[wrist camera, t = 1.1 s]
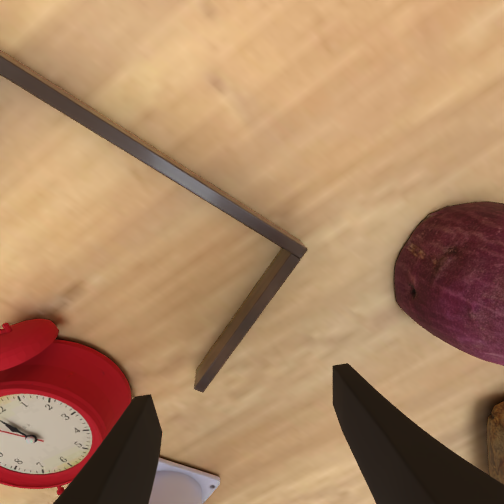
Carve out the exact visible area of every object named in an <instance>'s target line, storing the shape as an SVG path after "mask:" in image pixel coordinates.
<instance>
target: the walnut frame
mask: <svg viewBox="0 0 504 504" xmlns="http://www.w3.org/2000/svg"><path fill="white" fill-rule="evenodd" d="M0 75H2V76H3V77H5V78H6V79H8V80H10V81H11V82H13V83H15V84H16V85H18V86H19V87H21V88H23V89H24V90H26V91H28V92H29V93H31V94H32V95H34V96H36V97H37V98H39V99H41V100H42V101H44V102H46V103H47V104H49V105H50V106H52V107H54V108H55V109H57V110H59V111H60V112H62V113H63V114H65V115H67V116H68V117H70V118H72V119H73V120H75V121H76V122H78V123H80V124H81V125H83V126H85V127H86V128H88V129H90V130H91V131H93V132H94V133H96V134H98V135H99V136H101V137H103V138H104V139H106V140H107V141H109V142H111V143H112V144H114V145H116V146H117V147H119V148H121V149H122V150H124V151H125V152H127V153H129V154H130V155H132V156H134V157H135V158H137V159H138V160H140V161H142V162H143V163H145V164H147V165H148V166H150V167H151V168H153V169H155V170H156V171H158V172H160V173H161V174H163V175H165V176H166V177H168V178H169V179H171V180H173V181H174V182H176V183H178V184H179V185H181V186H182V187H184V188H186V189H187V190H189V191H191V192H192V193H194V194H195V195H197V196H199V197H200V198H202V199H204V200H205V201H207V202H209V203H210V204H212V205H213V206H215V207H217V208H218V209H220V210H222V211H223V212H225V213H226V214H228V215H230V216H231V217H233V218H235V219H236V220H238V221H240V222H241V223H243V224H244V225H246V226H248V227H249V228H251V229H253V230H254V231H256V232H257V233H259V234H261V235H262V236H264V237H266V238H267V239H269V240H270V241H272V242H274V243H275V244H277V245H279V246H280V247H282V249H281V250H280V252H279V253H278V254H277V256H276V257H275V259H274V260H273V262H272V263H271V264H270V266H269V267H268V269H267V270H266V271H265V273H264V274H263V276H262V277H261V279H260V280H259V281H258V283H257V284H256V286H255V287H254V288H253V290H252V291H251V293H250V294H249V296H248V297H247V298H246V300H245V301H244V303H243V304H242V305H241V307H240V308H239V310H238V311H237V313H236V314H235V315H234V317H233V318H232V320H231V321H230V322H229V324H228V325H227V327H226V328H225V330H224V331H223V332H222V334H221V335H220V337H219V338H218V340H217V341H216V342H215V344H214V345H213V347H212V348H211V349H210V351H209V352H208V354H207V355H206V357H205V358H204V359H203V361H202V362H201V364H200V365H199V366H198V368H197V369H196V376H195V384H194V389H195V390H198V391H200V392H204V391H205V389H206V388H207V386H208V385H209V384H210V382H211V381H212V380H213V378H214V377H215V376H216V374H217V373H218V371H219V370H220V369H221V367H222V366H223V365H224V363H225V362H226V361H227V359H228V358H229V356H230V355H231V354H232V352H233V351H234V350H235V348H236V347H237V346H238V344H239V343H240V341H241V340H242V339H243V337H244V336H245V335H246V333H247V332H248V331H249V329H250V328H251V326H252V325H253V324H254V322H255V321H256V320H257V318H258V317H259V316H260V314H261V313H262V311H263V310H264V309H265V307H266V306H267V305H268V303H269V302H270V301H271V299H272V298H273V296H274V295H275V294H276V292H277V291H278V290H279V288H280V287H281V286H282V284H283V283H284V282H285V280H286V279H287V277H288V276H289V275H290V273H291V272H292V271H293V269H294V268H295V267H296V265H297V264H298V262H299V261H300V259H301V258H302V257H303V255H304V254H305V253H306V251H307V248H306V247H305V246H304V244H303V243H302V242H301V241H300V240H299V239H297V238H296V237H294V236H293V235H291V234H289V233H288V232H286V231H285V230H283V229H281V228H280V227H278V226H277V225H275V224H274V223H272V222H270V221H269V220H267V219H266V218H264V217H263V216H261V215H259V214H258V213H256V212H255V211H253V210H252V209H250V208H248V207H247V206H245V205H244V204H242V203H241V202H239V201H237V200H236V199H234V198H233V197H231V196H230V195H228V194H226V193H225V192H223V191H222V190H220V189H219V188H217V187H215V186H214V185H212V184H211V183H209V182H208V181H206V180H204V179H203V178H201V177H200V176H198V175H197V174H195V173H193V172H192V171H190V170H189V169H187V168H186V167H184V166H182V165H181V164H179V163H178V162H176V161H175V160H173V159H171V158H170V157H168V156H167V155H165V154H163V153H162V152H160V151H159V150H157V149H156V148H154V147H152V146H151V145H149V144H148V143H146V142H145V141H143V140H141V139H140V138H138V137H137V136H135V135H134V134H132V133H130V132H129V131H127V130H126V129H124V128H123V127H121V126H119V125H118V124H116V123H115V122H113V121H112V120H110V119H108V118H107V117H105V116H104V115H102V114H101V113H99V112H97V111H96V110H94V109H93V108H91V107H90V106H88V105H86V104H85V103H83V102H82V101H80V100H79V99H77V98H75V97H74V96H72V95H71V94H69V93H68V92H66V91H64V90H63V89H61V88H60V87H58V86H56V85H55V84H53V83H52V82H50V81H49V80H47V79H45V78H44V77H42V76H41V75H39V74H38V73H36V72H34V71H33V70H31V69H30V68H28V67H27V66H25V65H23V64H22V63H20V62H19V61H17V60H16V59H14V58H12V57H11V56H9V55H8V54H6V53H5V52H3V51H1V50H0Z"/></svg>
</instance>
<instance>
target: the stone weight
mask: <svg viewBox="0 0 504 504" xmlns="http://www.w3.org/2000/svg"><path fill="white" fill-rule="evenodd" d="M487 451H488V465H489V473H490V476H491V477H493V478H494V479H496V480H497V481H499V482H501V483H502V484H504V402H501V403H499V404H496V405H495V406H494V407H493V410H492V412H491V415H490V416H488V422H487Z"/></svg>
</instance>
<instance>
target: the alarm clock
mask: <svg viewBox="0 0 504 504" xmlns="http://www.w3.org/2000/svg"><path fill="white" fill-rule="evenodd" d="M2 326H3V328H4V329H0V483H1V484H4V485H8V486H12V487H18V488H28V489H43V488H52V487H57V488H58V490H57V494H58V495H61V494H62V493H63V491H64V488H63V487H61V486H62V485H65V484H68V483H71V482H72V480H73V479H74V478H75V477H76V475H77V474H78V473H79V472H80V470H81V469H82V468H83V467H84V465H85V464H86V463H87V461H88V460H89V459H90V458H91V456H92V455H93V454H94V452H95V451H96V450H97V448H98V447H99V446H100V444H101V443H102V441H103V440H104V439H105V437H106V436H107V435H108V433H109V432H110V431H111V429H112V428H113V426H114V425H115V424H116V422H117V421H118V419H119V418H120V417H121V415H122V414H123V412H124V411H125V409H126V408H127V407H128V405H129V404H130V402H131V391H130V386H129V383H128V381H127V379H126V377H125V375H124V374H123V372H122V371H121V370H120V369H119V367H118V366H117V365H116V364H115V363H114V362H113V361H111V360H110V359H109V358H108V357H106V356H105V355H103V354H101V353H100V352H98V351H96V350H94V349H92V348H90V347H87V346H85V345H82V344H79V343H75V342H71V341H65V340H56V337H57V336H58V332H59V330H58V328H57V327H56V325H55V324H54V323H53V322H52V321H50V320H47V319H32V320H25V321H23V322H20V323H17V324H14V325H11V326H10V325H9V324H8V323H4V324H3V325H2Z"/></svg>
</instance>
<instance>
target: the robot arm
mask: <svg viewBox="0 0 504 504" xmlns="http://www.w3.org/2000/svg"><path fill="white" fill-rule="evenodd" d="M333 406H334V409H335V412H336V415H337V418H338V420H339V423H340V426H341V429H342V431H343V434H344V436H345V438H346V440H347V442H348V444H349V446H350V449H351V451H352V453H353V455H354V457H355V459H356V461H357V463H358V466H359V468H360V470H361V472H362V474H363V476H364V478H365V480H366V482H367V484H368V487H369V489H370V491H371V493H372V495H373V497H374V499H375V502H376V504H504V484H502V483H501V482H499V481H497V480H496V479H494V478H493V477H491V476H489V475H488V474H486V473H485V472H483V471H481V470H480V469H478V468H477V467H475V466H473V465H472V464H470V463H469V462H467V461H466V460H464V459H463V458H461V457H460V456H458V455H457V454H456V453H454V452H453V451H451V450H450V449H448V448H447V447H446V446H444V445H443V444H441V443H440V442H439V441H437V440H436V439H435V438H433V437H432V436H431V435H429V434H428V433H427V432H425V431H424V430H423V429H421V428H420V427H419V426H418V425H416V424H415V423H414V422H413V421H411V420H410V419H409V418H408V417H406V416H405V415H404V414H403V413H402V412H401V411H399V410H398V409H397V408H396V407H395V406H394V405H392V404H391V403H390V402H389V401H388V400H387V399H386V398H384V397H383V396H382V395H381V394H380V393H379V392H378V391H377V390H375V389H374V388H373V387H372V386H371V385H370V384H369V383H368V382H367V381H366V380H365V379H364V378H363V377H362V376H361V375H360V374H359V373H357V372H356V371H355V370H354V369H353V368H352V367H351V366H350V365H349V364H348V363H347V364H341V365H334V366H333ZM161 438H162V430H161V426H160V423H159V420H158V417H157V413H156V410H155V407H154V403H153V400H152V397H151V394H150V395H144V396H137V397H134V398H133V400H132V401H131V402H130V404H129V405H128V407H127V408H126V409H125V411H124V412H123V414H122V415H121V417H120V418H119V419H118V421H117V422H116V424H115V425H114V426H113V428H112V429H111V431H110V432H109V433H108V435H107V436H106V437H105V439H104V440H103V441H102V443H101V444H100V446H99V447H98V448H97V450H96V451H95V452H94V454H93V455H92V456H91V458H90V459H89V460H88V461H87V463H86V464H85V465H84V467H83V468H82V469H81V470H80V472H79V473H78V474H77V475H76V477H75V478H74V479H73V480H72V482H71V483H70V484H69V485H68V487H67V488H66V489H65V490H64V491H63V493H62V494H61V495H60V496H59V497H58V499H57V500H56V501H55V502H54V503H53V504H203V503H204V502H205V501H206V500H207V499H208V497H209V496H210V495H211V494H212V493H213V491H214V490H215V489H216V488H217V487H218V486H219V484H220V478H219V477H218V476H215V475H212V474H209V473H206V472H203V471H200V470H197V469H194V468H190V467H187V466H184V465H181V464H178V463H175V462H172V461H169V460H165V459H162V458H159V454H160V446H161Z"/></svg>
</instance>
